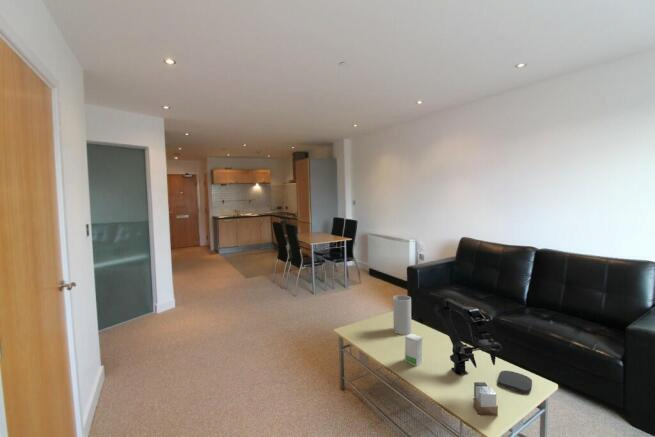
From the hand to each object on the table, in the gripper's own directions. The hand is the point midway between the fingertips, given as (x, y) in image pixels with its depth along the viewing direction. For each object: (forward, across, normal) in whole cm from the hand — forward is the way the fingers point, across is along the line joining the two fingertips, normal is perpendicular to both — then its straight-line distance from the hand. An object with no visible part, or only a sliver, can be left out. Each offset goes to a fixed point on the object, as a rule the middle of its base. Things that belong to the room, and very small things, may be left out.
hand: (485, 366), depth 159 cm
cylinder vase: (-14, -24, +70) cm, 76 cm away
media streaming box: (+13, +17, +9) cm, 23 cm away
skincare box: (0, -28, +31) cm, 42 cm away
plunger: (+12, -9, -9) cm, 18 cm away
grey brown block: (+16, -9, -11) cm, 21 cm away
